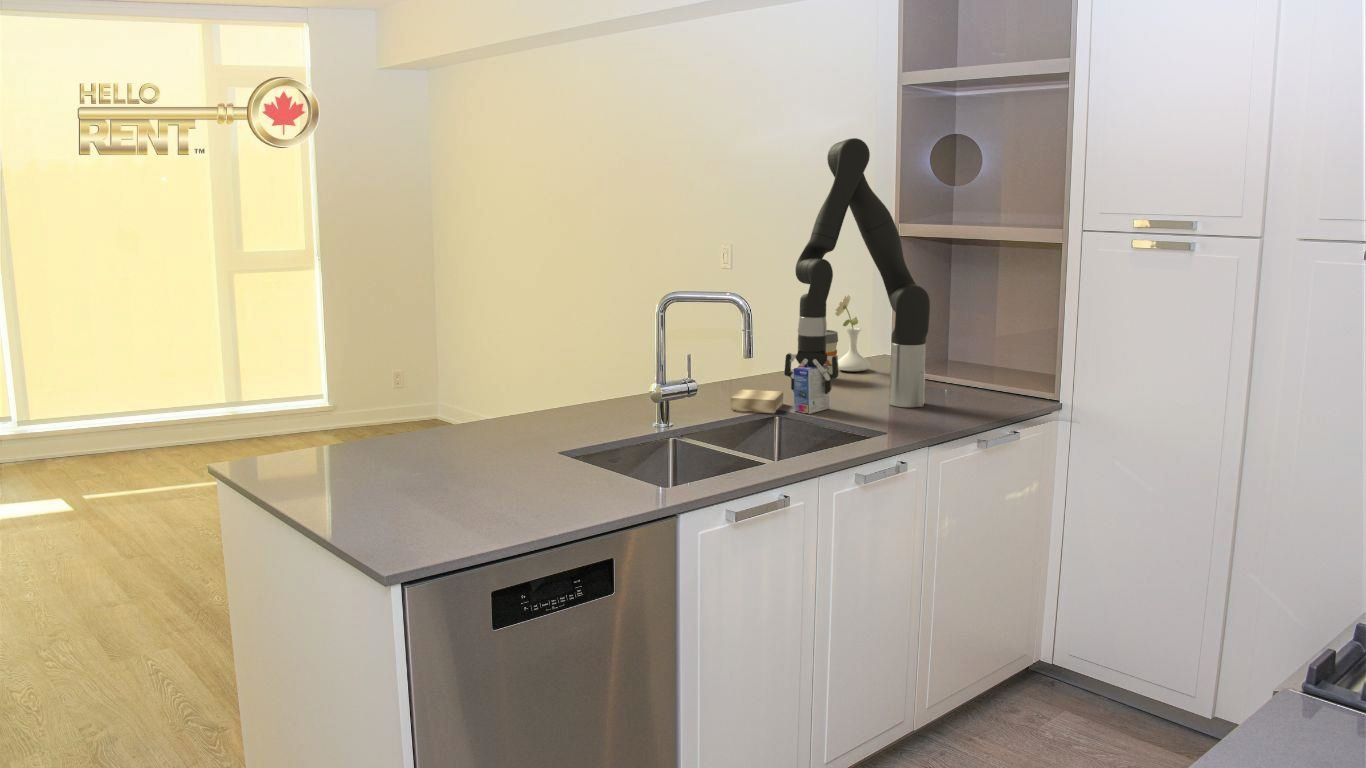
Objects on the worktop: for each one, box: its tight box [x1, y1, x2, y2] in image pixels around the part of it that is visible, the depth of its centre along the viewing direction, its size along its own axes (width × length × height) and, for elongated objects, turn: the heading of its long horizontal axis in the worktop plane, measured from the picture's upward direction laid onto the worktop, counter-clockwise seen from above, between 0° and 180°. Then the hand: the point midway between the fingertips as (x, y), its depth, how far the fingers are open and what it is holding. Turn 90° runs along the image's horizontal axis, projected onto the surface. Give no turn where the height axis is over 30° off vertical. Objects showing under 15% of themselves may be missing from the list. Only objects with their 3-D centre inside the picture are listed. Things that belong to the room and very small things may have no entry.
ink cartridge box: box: [793, 363, 831, 415], centre depth 283 cm, size 10×6×14 cm, turn 137°
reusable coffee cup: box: [825, 329, 839, 374], centre depth 327 cm, size 13×13×15 cm
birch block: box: [730, 388, 784, 414], centre depth 288 cm, size 12×12×4 cm
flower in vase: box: [834, 294, 871, 372], centre depth 341 cm, size 13×11×25 cm
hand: (810, 392), depth 283 cm, fingers open, 8 cm apart
